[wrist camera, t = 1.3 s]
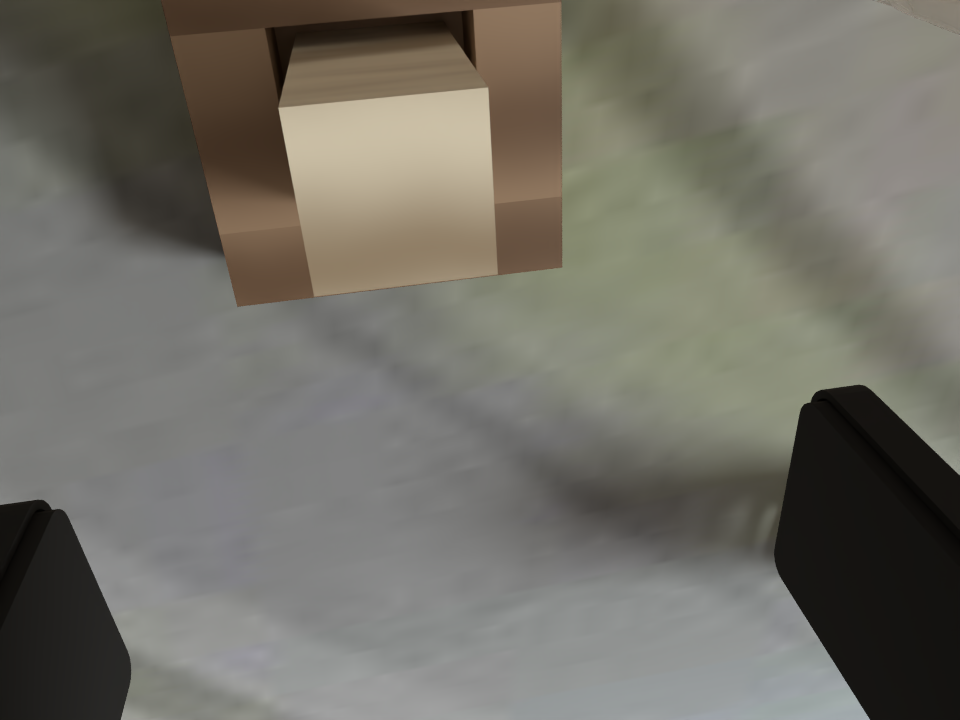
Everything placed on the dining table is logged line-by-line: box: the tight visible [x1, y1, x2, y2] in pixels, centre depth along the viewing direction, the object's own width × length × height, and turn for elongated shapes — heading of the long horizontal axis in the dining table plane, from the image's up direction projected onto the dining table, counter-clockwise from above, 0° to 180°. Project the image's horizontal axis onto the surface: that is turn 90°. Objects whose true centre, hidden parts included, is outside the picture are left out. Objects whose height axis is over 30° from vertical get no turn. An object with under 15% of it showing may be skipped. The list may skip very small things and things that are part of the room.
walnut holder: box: [161, 0, 562, 307], centre depth 28 cm, size 12×12×4 cm
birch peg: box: [278, 20, 498, 297], centre depth 25 cm, size 5×5×10 cm
